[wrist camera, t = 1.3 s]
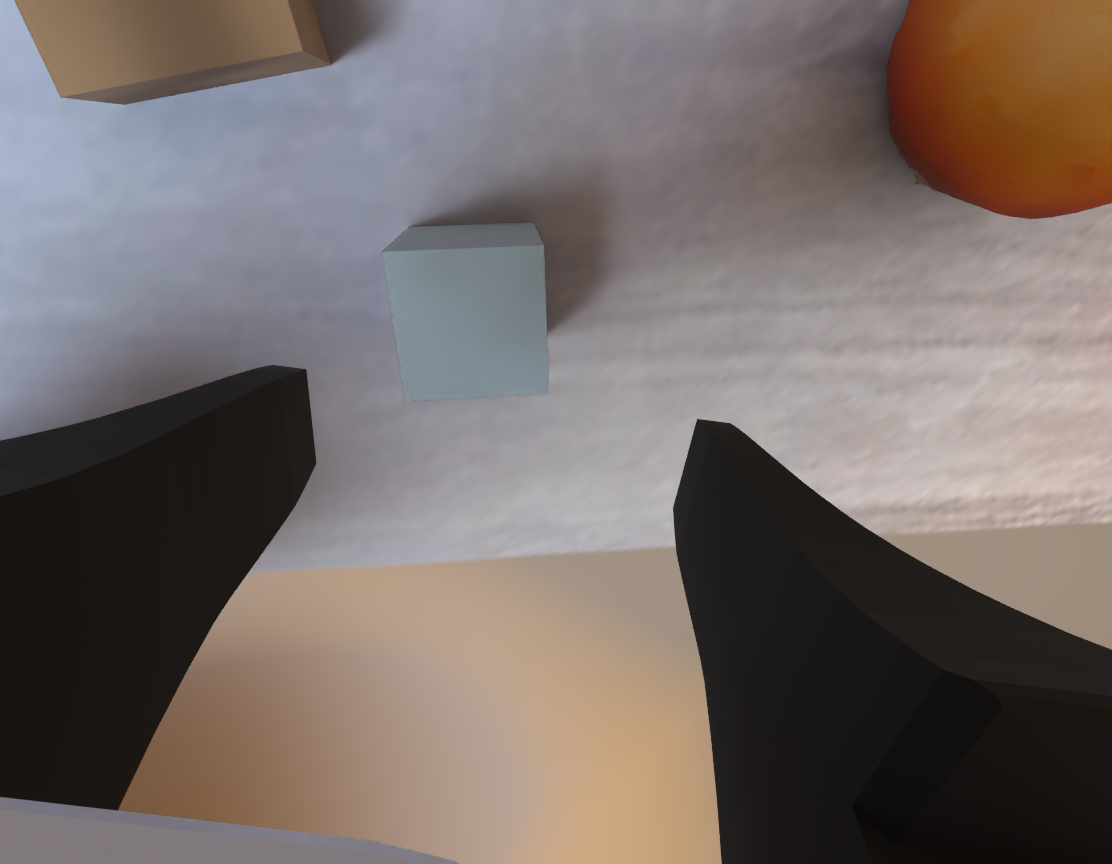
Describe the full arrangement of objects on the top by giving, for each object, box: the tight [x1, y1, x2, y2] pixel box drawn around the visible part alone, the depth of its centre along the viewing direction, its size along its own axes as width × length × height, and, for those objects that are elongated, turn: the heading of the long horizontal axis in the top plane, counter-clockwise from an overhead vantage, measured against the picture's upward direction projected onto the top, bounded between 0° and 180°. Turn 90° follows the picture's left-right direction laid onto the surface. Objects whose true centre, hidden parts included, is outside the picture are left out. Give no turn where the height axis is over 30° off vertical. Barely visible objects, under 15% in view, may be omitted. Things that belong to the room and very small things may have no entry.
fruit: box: [887, 0, 1112, 219], centre depth 16 cm, size 8×8×8 cm
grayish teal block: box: [382, 222, 549, 402], centre depth 18 cm, size 4×4×5 cm
